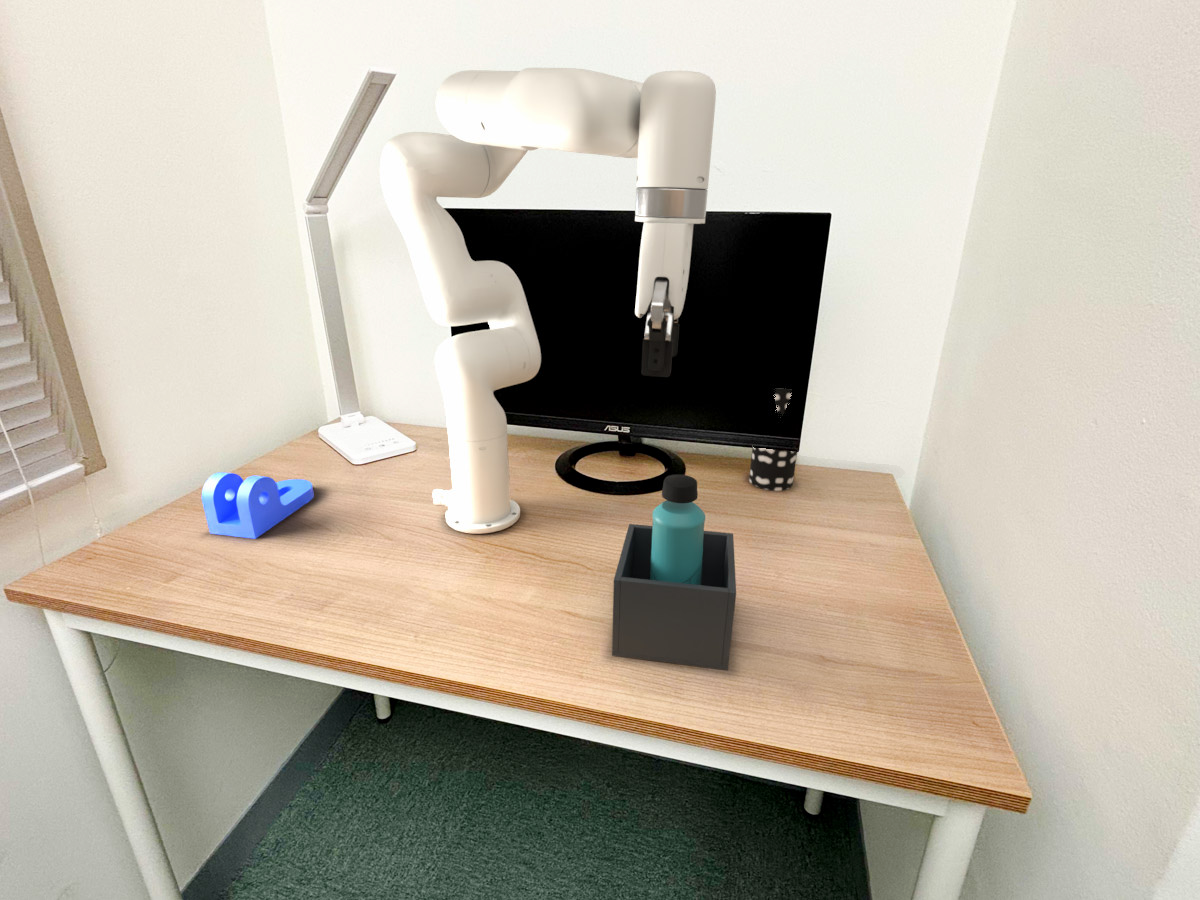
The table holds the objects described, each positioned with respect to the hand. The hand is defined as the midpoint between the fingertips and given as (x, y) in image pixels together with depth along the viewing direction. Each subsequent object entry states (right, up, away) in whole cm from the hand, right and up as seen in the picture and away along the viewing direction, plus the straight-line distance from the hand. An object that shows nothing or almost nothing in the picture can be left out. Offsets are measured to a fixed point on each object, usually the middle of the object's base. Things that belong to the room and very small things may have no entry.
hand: (660, 364), depth 72 cm
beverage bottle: (+2, -32, +6) cm, 33 cm away
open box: (+2, -33, +6) cm, 33 cm away
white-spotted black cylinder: (+26, -16, +49) cm, 58 cm away
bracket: (-64, -21, +35) cm, 76 cm away
